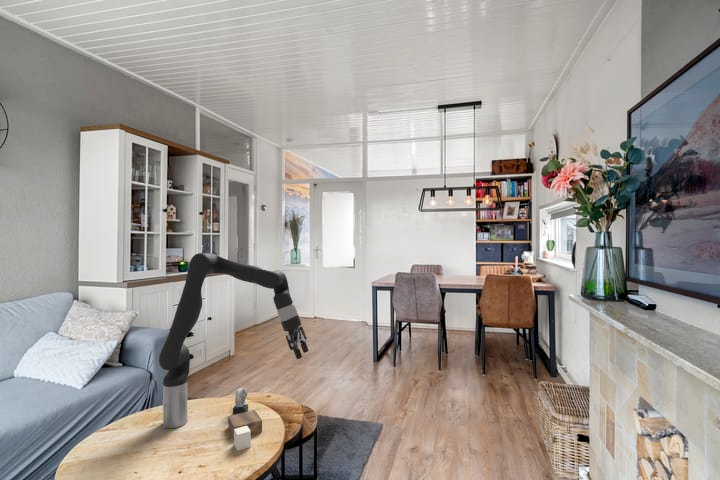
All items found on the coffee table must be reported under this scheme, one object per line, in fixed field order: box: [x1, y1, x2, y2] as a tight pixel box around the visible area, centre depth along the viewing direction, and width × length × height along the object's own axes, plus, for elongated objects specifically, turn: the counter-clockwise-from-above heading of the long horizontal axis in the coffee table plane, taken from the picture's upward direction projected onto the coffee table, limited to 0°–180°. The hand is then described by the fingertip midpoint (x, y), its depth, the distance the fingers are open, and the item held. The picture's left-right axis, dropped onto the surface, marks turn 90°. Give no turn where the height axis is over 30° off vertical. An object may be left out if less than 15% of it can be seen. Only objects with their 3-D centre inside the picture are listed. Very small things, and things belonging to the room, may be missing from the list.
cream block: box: [233, 426, 252, 452], centre depth 141 cm, size 5×5×6 cm
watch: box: [232, 387, 249, 415], centre depth 168 cm, size 6×8×11 cm
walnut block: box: [227, 409, 263, 439], centre depth 154 cm, size 11×11×5 cm
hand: (303, 355), depth 151 cm, fingers open, 8 cm apart
